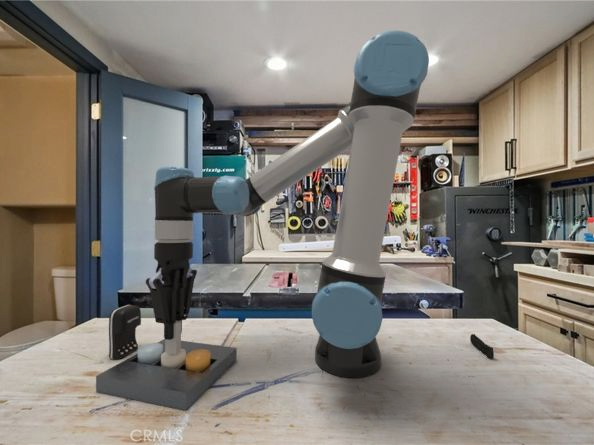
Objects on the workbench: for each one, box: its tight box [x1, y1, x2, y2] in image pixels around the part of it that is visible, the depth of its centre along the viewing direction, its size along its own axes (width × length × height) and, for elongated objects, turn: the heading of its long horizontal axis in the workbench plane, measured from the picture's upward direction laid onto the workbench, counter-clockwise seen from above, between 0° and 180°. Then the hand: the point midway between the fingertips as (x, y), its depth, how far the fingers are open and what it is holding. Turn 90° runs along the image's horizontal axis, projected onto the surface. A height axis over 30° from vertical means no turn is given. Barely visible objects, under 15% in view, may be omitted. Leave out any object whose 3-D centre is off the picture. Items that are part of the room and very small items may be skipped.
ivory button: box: [161, 349, 186, 369], centre depth 58 cm, size 5×5×3 cm
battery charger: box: [108, 304, 142, 360], centre depth 68 cm, size 7×4×11 cm, turn 171°
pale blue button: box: [137, 342, 163, 365], centre depth 60 cm, size 5×5×3 cm
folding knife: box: [469, 333, 495, 359], centre depth 69 cm, size 10×1×3 cm, turn 172°
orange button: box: [186, 349, 210, 373], centre depth 57 cm, size 5×5×3 cm
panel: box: [95, 339, 238, 411], centre depth 58 cm, size 20×18×3 cm
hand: (172, 352), depth 58 cm, fingers closed
